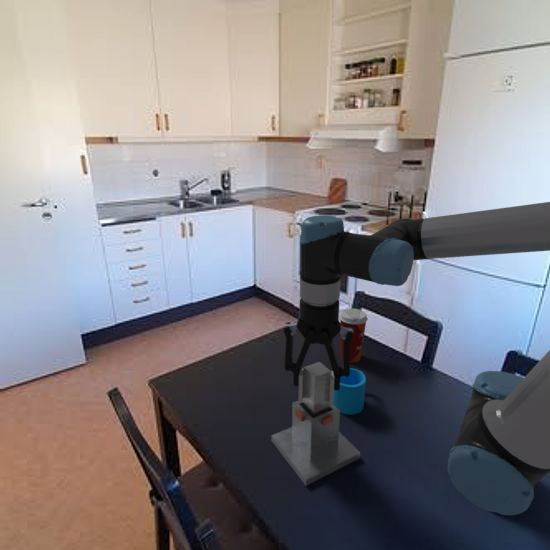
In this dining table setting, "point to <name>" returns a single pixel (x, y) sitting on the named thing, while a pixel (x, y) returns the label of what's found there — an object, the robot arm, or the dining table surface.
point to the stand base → (314, 444)
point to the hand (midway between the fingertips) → (316, 399)
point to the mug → (351, 393)
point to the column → (316, 389)
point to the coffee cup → (357, 322)
